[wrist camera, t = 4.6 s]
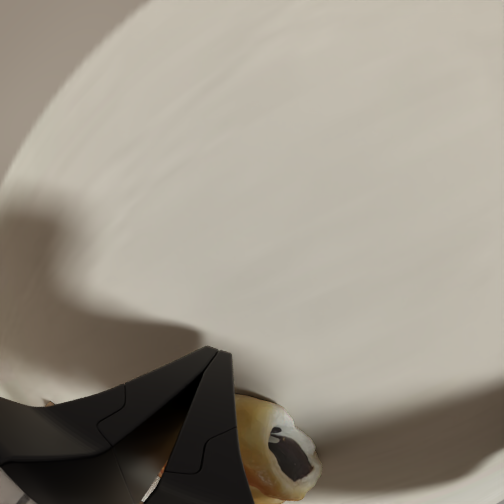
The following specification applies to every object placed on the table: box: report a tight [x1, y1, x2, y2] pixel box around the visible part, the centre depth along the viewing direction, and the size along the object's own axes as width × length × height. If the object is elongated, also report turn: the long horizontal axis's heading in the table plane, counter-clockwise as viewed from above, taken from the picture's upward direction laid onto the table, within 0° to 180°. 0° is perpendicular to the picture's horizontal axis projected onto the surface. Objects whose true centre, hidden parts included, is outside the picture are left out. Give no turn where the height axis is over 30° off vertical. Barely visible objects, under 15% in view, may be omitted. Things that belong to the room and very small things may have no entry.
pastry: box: [158, 394, 323, 504], centre depth 11 cm, size 9×7×4 cm
